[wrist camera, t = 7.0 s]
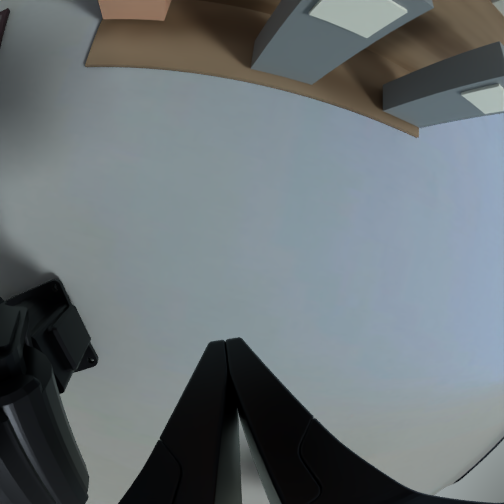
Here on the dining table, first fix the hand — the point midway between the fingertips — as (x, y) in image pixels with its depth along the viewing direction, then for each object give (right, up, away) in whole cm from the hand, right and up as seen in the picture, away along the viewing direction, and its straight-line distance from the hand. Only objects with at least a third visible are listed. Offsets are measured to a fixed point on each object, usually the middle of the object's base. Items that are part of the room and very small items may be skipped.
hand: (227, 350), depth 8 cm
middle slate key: (+3, +16, +10) cm, 19 cm away
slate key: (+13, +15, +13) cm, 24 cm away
